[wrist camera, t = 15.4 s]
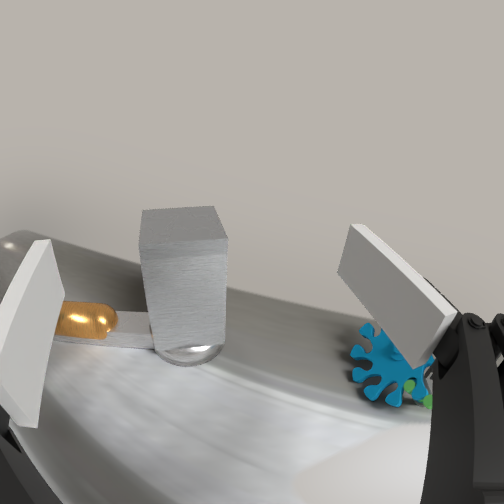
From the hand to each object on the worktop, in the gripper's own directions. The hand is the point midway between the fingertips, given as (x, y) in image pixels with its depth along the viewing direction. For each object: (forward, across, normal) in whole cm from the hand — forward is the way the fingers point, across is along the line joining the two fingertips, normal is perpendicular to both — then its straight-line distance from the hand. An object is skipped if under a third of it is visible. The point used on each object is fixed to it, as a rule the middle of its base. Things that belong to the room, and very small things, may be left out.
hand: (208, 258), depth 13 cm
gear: (0, +17, -15) cm, 23 cm away
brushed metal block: (+10, 0, -14) cm, 17 cm away
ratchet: (+11, -7, -16) cm, 21 cm away
